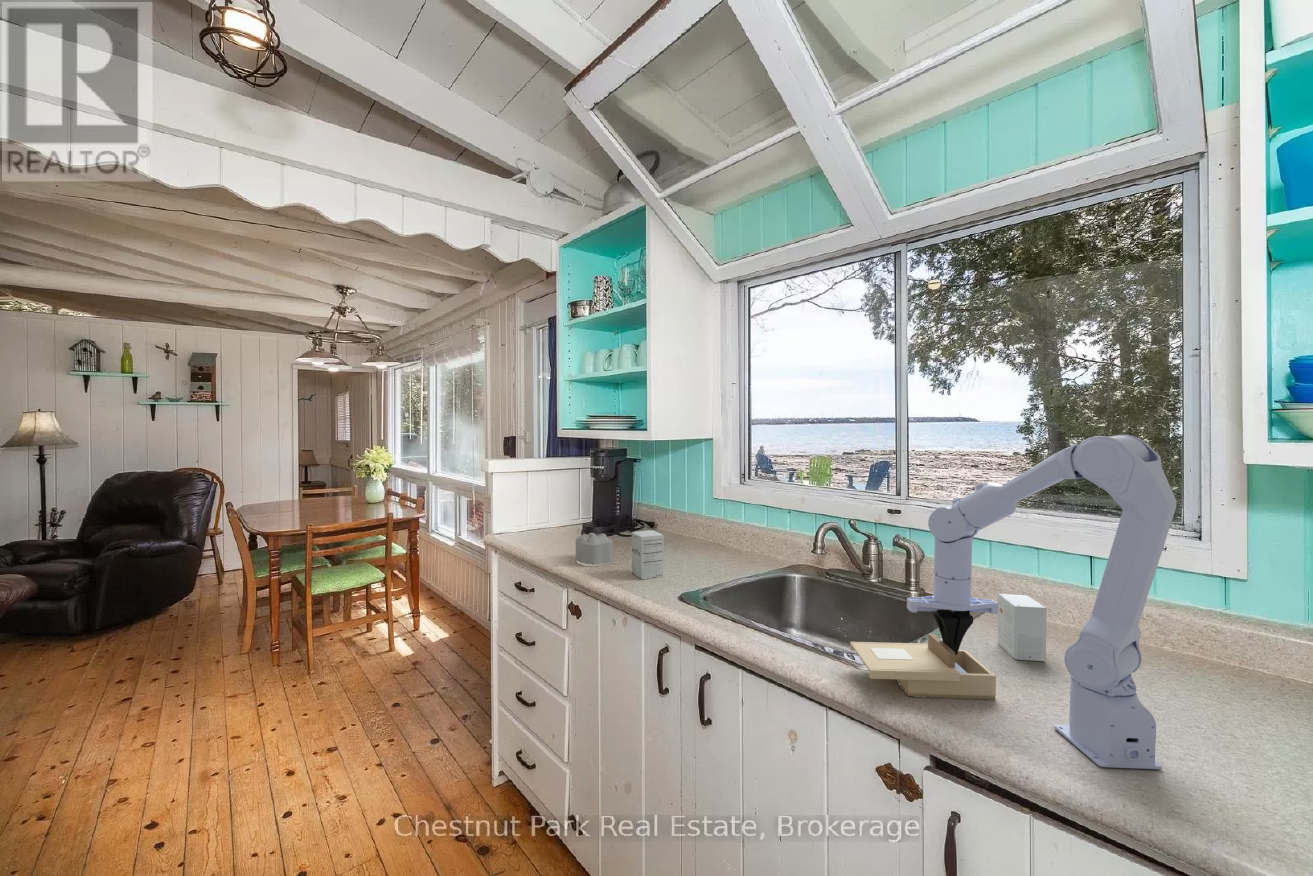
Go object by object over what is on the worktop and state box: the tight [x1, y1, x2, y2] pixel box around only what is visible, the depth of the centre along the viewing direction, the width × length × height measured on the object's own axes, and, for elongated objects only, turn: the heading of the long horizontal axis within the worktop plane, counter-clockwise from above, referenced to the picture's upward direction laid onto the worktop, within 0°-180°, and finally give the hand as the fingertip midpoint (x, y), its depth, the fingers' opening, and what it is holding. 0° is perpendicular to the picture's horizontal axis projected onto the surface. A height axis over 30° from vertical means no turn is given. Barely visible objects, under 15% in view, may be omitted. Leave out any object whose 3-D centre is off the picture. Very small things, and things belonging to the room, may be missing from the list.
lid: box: [849, 633, 960, 681], centre depth 96 cm, size 12×14×4 cm
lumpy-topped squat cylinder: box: [575, 532, 614, 565], centre depth 177 cm, size 10×13×9 cm
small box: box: [997, 593, 1048, 662], centre depth 108 cm, size 8×6×10 cm
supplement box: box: [631, 529, 664, 580], centre depth 161 cm, size 7×7×13 cm
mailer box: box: [895, 649, 997, 701], centre depth 96 cm, size 10×14×4 cm
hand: (950, 652), depth 95 cm, fingers closed
